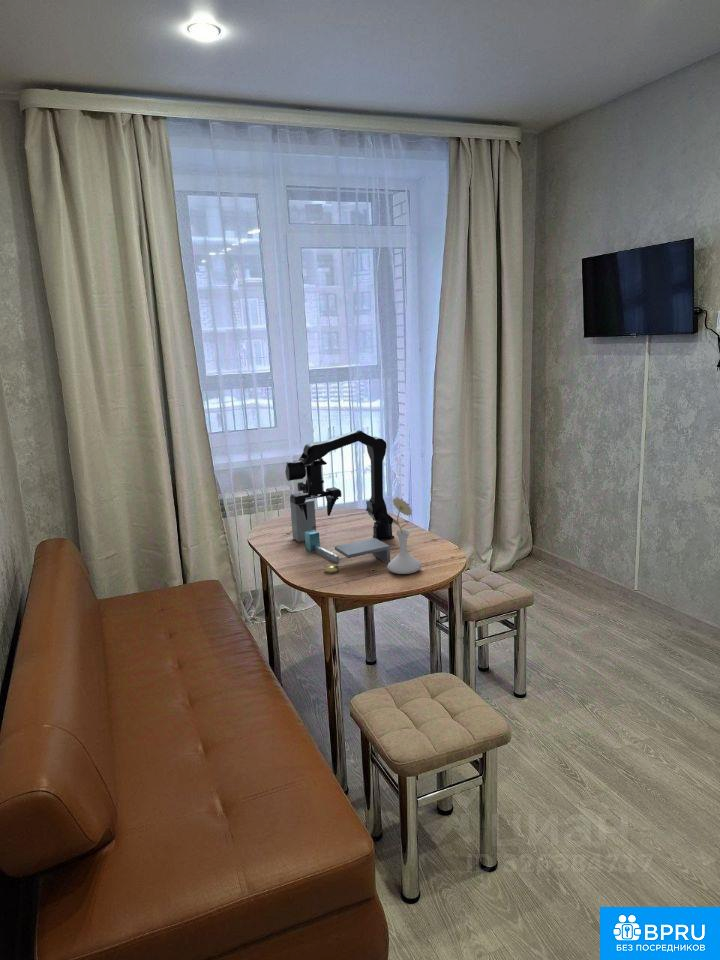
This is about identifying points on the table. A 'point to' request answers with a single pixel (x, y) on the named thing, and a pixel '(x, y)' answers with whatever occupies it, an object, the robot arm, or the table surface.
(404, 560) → the flower in vase
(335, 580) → the table surface
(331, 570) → the token
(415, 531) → the table surface
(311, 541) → the blade tool
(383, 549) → the shelf
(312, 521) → the skincare box
